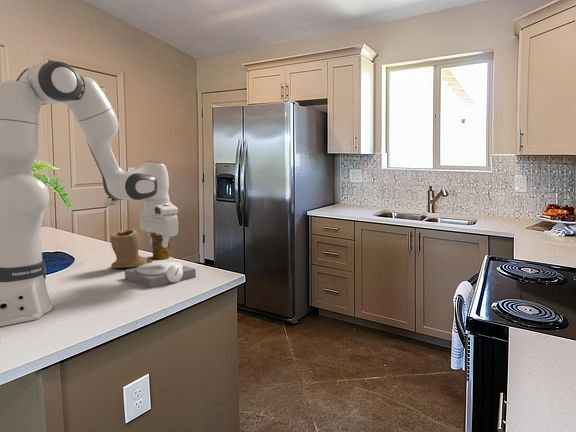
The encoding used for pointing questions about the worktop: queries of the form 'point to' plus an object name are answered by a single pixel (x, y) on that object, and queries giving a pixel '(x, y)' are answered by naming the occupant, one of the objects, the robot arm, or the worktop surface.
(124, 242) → the stone cup
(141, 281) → the scale
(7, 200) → the robot arm
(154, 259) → the condiment
